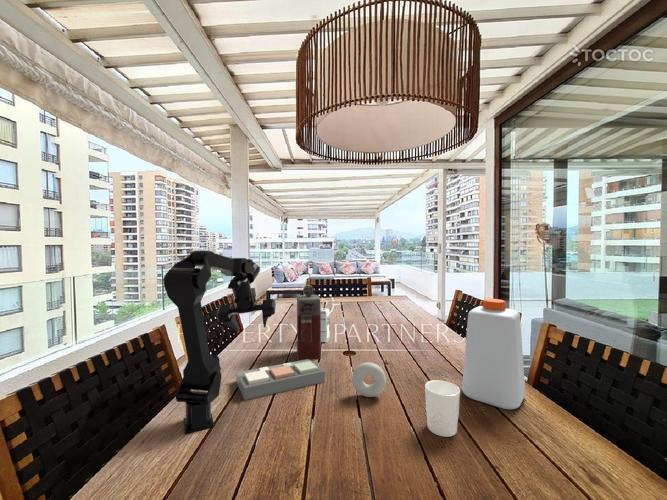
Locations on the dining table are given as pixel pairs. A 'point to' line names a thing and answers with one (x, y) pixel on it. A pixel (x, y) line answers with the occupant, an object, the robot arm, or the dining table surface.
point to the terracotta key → (281, 372)
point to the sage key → (305, 367)
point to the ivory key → (256, 377)
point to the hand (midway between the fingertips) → (251, 328)
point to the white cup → (442, 407)
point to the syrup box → (325, 325)
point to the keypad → (278, 381)
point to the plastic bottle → (494, 356)
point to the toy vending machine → (308, 325)
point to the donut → (365, 388)
